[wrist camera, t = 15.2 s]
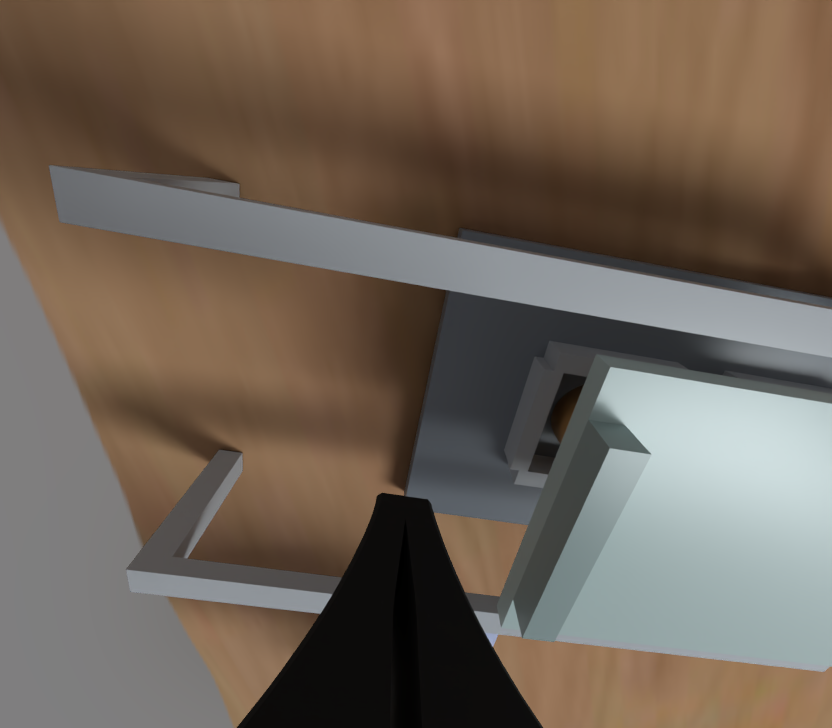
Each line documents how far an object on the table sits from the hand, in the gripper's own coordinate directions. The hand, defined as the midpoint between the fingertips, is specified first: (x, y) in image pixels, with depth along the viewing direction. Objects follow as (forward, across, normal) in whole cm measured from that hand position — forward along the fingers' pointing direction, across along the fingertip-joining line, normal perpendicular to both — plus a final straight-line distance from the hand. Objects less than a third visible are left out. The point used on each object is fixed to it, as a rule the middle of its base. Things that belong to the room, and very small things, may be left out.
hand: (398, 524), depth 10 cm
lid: (+2, -12, 0) cm, 12 cm away
